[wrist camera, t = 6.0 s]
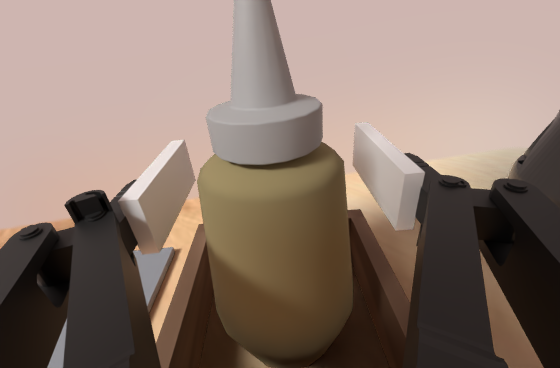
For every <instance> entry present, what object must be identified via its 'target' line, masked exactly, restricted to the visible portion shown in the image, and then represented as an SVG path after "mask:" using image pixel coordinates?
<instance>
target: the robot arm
mask: <svg viewBox="0 0 560 368" xmlns="http://www.w3.org/2000/svg"><path fill="white" fill-rule="evenodd" d="M353 166H354V168H355V169H356V171H357V172H358V174H359V175H360V177H361V179H362V180H363V182H364V183H365V185H366V186H367V188H368V189H369V191H370V192H371V194H372V195H373V197H374V198H375V200H376V202H377V203H378V205H379V206H380V208H381V209H382V211H383V212H384V214H385V215H386V217H387V218H388V220H389V221H390V223H391V224H392V226H393V228H394V229H395V231H400V230H411V229H414V224H415V219H416V218H417V220H418V221H419V222H420V223H421V227H420V231H419V236H418V240H417V245H416V246H418V247H417V255H416V263H415V271H414V279H413V287H412V295H411V303H410V311H409V319H408V327H407V335H406V343H405V351H404V359H403V367H402V368H508V365H507V364H506V362H505V361H504V359H502V358H499V357H496V355H495V353H494V349H493V343H492V336H491V329H490V322H489V315H488V308H487V300H486V293H485V286H484V279H483V272H482V265H481V258H480V251H481V253H482V254H483V256H484V258H485V260H486V262H487V264H488V265H489V267H490V269H491V271H492V273H493V275H494V277H495V278H496V280H497V282H498V284H499V286H500V288H501V289H502V291H503V293H504V295H505V297H506V299H507V300H508V302H509V304H510V306H511V308H512V310H513V312H514V313H515V315H516V317H517V319H518V321H519V323H520V324H521V326H522V328H523V330H524V332H525V334H526V336H527V337H528V339H529V341H530V343H531V345H532V347H533V348H534V350H535V352H536V354H537V356H538V358H539V359H540V361H541V363H542V365H543V367H544V368H560V110H559V113H558V114H557V116H556V117H555V119H554V120H553V121H552V122H551V123H550V124H549V125H548V126H547V127H546V129H545V130H544V131H543V132H542V133H541V134H540V135H539V136H538V138H537V139H536V140H535V141H534V142H533V143H532V145H531V146H530V147H529V148H528V150H527V151H526V152H525V154H524V155H522V156H521V157H520V158H518V160H517V161H516V162H515V163H514V165H513V167H512V170H511V172H510V175H509V177H508V179H498V180H495V181H494V183H493V185H492V188H491V190H485V189H472V188H470V185H469V183H468V182H467V181H465V180H464V179H461V178H458V177H454V176H449V175H440V174H439V173H438V172H437V171H435V170H434V169H433V168H432V167H430V166H429V165H428V164H427V163H426V162H424V161H423V160H422V159H420V158H419V157H418V156H415V155H413V154H410V153H402V152H401V151H400V150H399V149H398V148H397V147H395V146H394V145H393V144H392V143H391V142H390V141H389V140H388V139H386V138H385V137H384V136H383V135H382V134H381V133H380V132H378V131H377V130H376V129H375V128H374V127H373V126H372V125H370V124H369V123H368V122H365V123H355V132H354V151H353ZM194 182H195V176H194V173H193V169H192V165H191V162H190V158H189V154H188V151H187V147H186V143H185V140H177V141H171V142H170V144H169V145H168V146H167V147H166V148H165V149H164V150H163V151H162V152H161V153H160V155H159V156H158V157H157V158H156V159H155V160H154V161H153V163H152V164H151V165H150V166H149V167H148V168H147V169H146V170H145V171H144V173H143V174H142V175H141V176H140V177H139V178H138V179H137V180H133V181H132V182H130V183H129V184H127V185H126V186H125V187H124V188H123V189H122V190H121V192H119V193H118V194H117V195H116V197H114V199H113V200H112V201H111V202H109V200H108V198H107V196H106V194H105V192H104V191H101V190H92V191H88V192H84V193H82V194H79V195H77V196H75V197H73V198H71V199H70V200H68V201H67V202H66V204H65V207H66V209H67V210H68V212H69V214H70V216H71V218H72V219H73V221H74V223H75V227H73V228H69V229H65V230H61V231H57V232H56V230H55V228H54V227H53V225H52V224H51V223H39V224H36V225H30V226H28V227H27V228H26V227H25V228H23V229H21V231H19V232H17V233H16V234H14V235H13V236H12V237H11V238H10V239H9V240H8V241H7V242H6V243H5V245H4V246H3V247H2V248H1V249H0V368H47V367H48V365H49V362H50V359H51V357H52V354H53V352H54V349H55V347H56V344H57V342H58V339H59V337H60V334H61V332H62V329H63V327H64V324H65V322H66V319H67V325H66V337H65V349H64V361H63V368H161V365H160V360H159V356H158V352H157V347H156V343H155V339H154V334H153V330H152V325H151V321H150V317H149V312H148V308H147V303H146V299H145V295H144V290H143V286H142V281H141V277H140V273H139V268H138V264H137V260H136V257H135V255H134V253H133V250H134V249H135V247H136V246H137V244H138V247H139V249H140V251H141V253H142V255H143V254H153V253H160V251H161V249H162V247H163V245H164V243H165V241H166V239H167V237H168V235H169V233H170V231H171V229H172V227H173V225H174V223H175V221H176V219H177V217H178V215H179V213H180V211H181V209H182V206H183V204H184V202H185V200H186V198H187V196H188V194H189V192H190V190H191V188H192V186H193V184H194ZM479 249H480V251H479ZM37 282H38V283H37Z"/></svg>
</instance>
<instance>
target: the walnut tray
mask: <svg viewBox="0 0 560 368" xmlns="http://www.w3.org/2000/svg"><path fill="white" fill-rule="evenodd" d="M348 224H349V237H350V250H351V263H352V266H353V269H354V271H355V274H356V277H357V279H358V282H359V285H360V288H361V290H362V293H363V296H364V298H365V301H366V304H367V307H368V309H369V312H370V315H371V318H372V320H373V323H374V326H375V328H376V331H377V334H378V337H379V339H380V342H381V345H382V347H383V350H384V353H385V356H386V358H387V361H388V364H389V366H390V368H402V367H403V359H404V351H405V343H406V335H407V327H408V319H409V311H410V302H409V300H408V299H407V297H406V295H405V293H404V291H403V289H402V287H401V285H400V283H399V282H398V280H397V278H396V276H395V274H394V272H393V270H392V268H391V266H390V265H389V263H388V261H387V259H386V257H385V255H384V253H383V251H382V250H381V248H380V246H379V244H378V242H377V240H376V238H375V236H374V234H373V233H372V231H371V229H370V227H369V225H368V223H367V221H366V219H365V217H364V216H363V214H362V212H361V210H360V209H358V210H348ZM213 295H214V290H213V283H212V276H211V270H210V263H209V257H208V250H207V243H206V237H205V230H204V224H199V225H198V228H197V231H196V234H195V237H194V239H193V242H192V245H191V248H190V250H189V253H188V256H187V259H186V262H185V264H184V267H183V270H182V273H181V276H180V278H179V281H178V284H177V287H176V289H175V292H174V295H173V298H172V301H171V303H170V306H169V309H168V312H167V315H166V317H165V320H164V323H163V326H162V328H161V331H160V334H159V337H158V340H157V342H156V347H157V352H158V356H159V360H160V365H161V368H199V363H200V358H201V353H202V349H203V344H204V339H205V334H206V329H207V324H208V319H209V315H210V310H211V305H212V300H213Z"/></svg>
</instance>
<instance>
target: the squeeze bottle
mask: <svg viewBox="0 0 560 368" xmlns="http://www.w3.org/2000/svg"><path fill="white" fill-rule="evenodd" d="M206 120H207V125H208V130H209V134H210V139H211V143H212V148H213V152H214V153H215V154H214V155H213V156H212V157H211V158H210V159H209V160H208V161H207V162H206V163H205V164H204V166H203V167H202V168H201V170H200V173H199V177H198V180H197V184H198V190H199V197H200V204H201V210H202V217H203V224H204V230H205V237H206V243H207V250H208V257H209V263H210V270H211V276H212V283H213V290H214V296H215V303H216V310H217V312H218V315H219V317H220V319H221V322H222V324H223V326H224V329H225V331H226V333H227V334H228V335H229V336H230V337H232V338H233V339H234V340H235V341H237V342H238V343H239V344H240V345H241V346H243V347H244V348H245V349H246V350H248V351H249V352H250V353H251V354H252V355H254V356H255V357H256V358H257V359H259V360H260V361H261V362H263V363H264V364H265V365H266V366H268V367H272V368H304V367H307V366H309V365H310V364H311V363H313V362H314V361H316V360H317V359H318V358H320V357H321V356H322V355H323V354H324V353H325V352H326V350H327V349H328V348H329V346H330V345H331V344H332V343H333V341H334V340H335V339H336V337H337V336H338V335H339V333H340V332H341V330H342V328H343V326H344V324H345V323H346V321H347V319H348V317H349V315H350V314H351V312H352V310H353V277H352V263H351V250H350V237H349V224H348V210H347V197H346V184H345V171H344V161H343V160H342V158H341V157H340V156H339V155H338V154H337V153H336V152H335V150H333V149H332V148H331V147H329V146H328V145H326V144H325V143H323V142H321V141H322V137H323V135H322V134H323V133H322V103H321V102H320V101H319V100H318V99H316V98H315V97H311V96H307V95H302V94H295V91H294V87H293V83H292V79H291V76H290V72H289V68H288V64H287V61H286V57H285V53H284V49H283V46H282V42H281V38H280V34H279V30H278V27H277V23H276V19H275V15H274V12H273V8H272V4H271V0H234V17H233V46H232V75H231V101H228V102H225V103H222V104H219V105H217V106H215V107H213V108H212V109H210V110H209V111H208V113H207V116H206Z"/></svg>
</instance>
